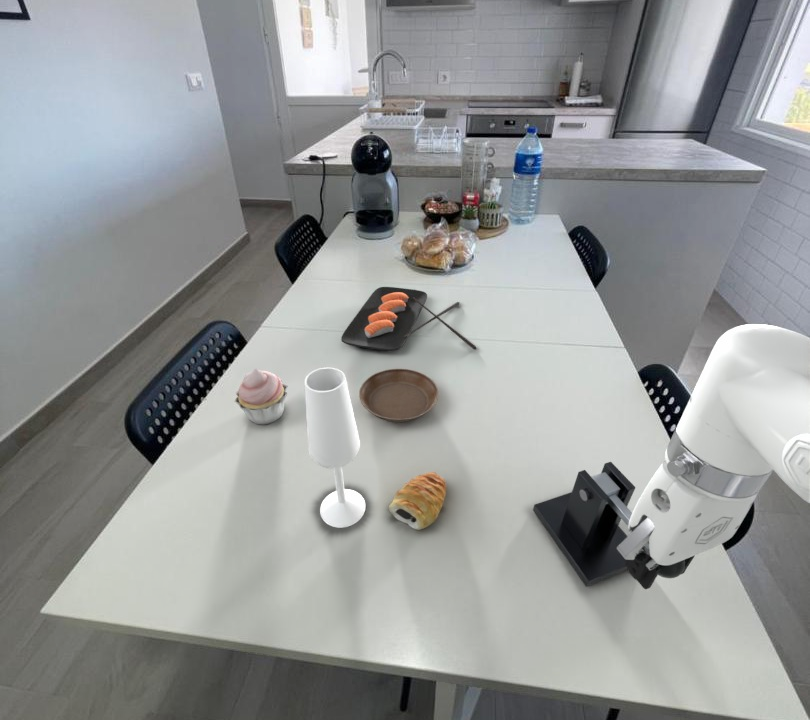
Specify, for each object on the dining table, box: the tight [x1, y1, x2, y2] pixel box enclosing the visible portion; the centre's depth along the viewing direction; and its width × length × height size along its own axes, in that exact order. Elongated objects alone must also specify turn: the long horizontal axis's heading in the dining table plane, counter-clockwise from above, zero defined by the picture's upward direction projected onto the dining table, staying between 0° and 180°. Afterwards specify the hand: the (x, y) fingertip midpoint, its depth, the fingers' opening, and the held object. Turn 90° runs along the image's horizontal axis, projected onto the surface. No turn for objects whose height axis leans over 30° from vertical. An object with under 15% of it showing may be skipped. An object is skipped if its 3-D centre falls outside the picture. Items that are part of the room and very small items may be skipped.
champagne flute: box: [304, 366, 367, 529], centre depth 59 cm, size 7×7×24 cm
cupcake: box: [234, 368, 289, 425], centre depth 80 cm, size 9×9×10 cm
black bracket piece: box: [532, 461, 636, 587], centre depth 58 cm, size 12×9×12 cm
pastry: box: [388, 472, 448, 531], centre depth 65 cm, size 9×7×4 cm
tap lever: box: [591, 472, 685, 579], centre depth 52 cm, size 13×4×4 cm, turn 20°
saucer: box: [358, 368, 439, 423], centre depth 84 cm, size 15×15×3 cm
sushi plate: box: [340, 286, 477, 352], centre depth 107 cm, size 29×30×4 cm
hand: (653, 568), depth 50 cm, fingers open, 3 cm apart
